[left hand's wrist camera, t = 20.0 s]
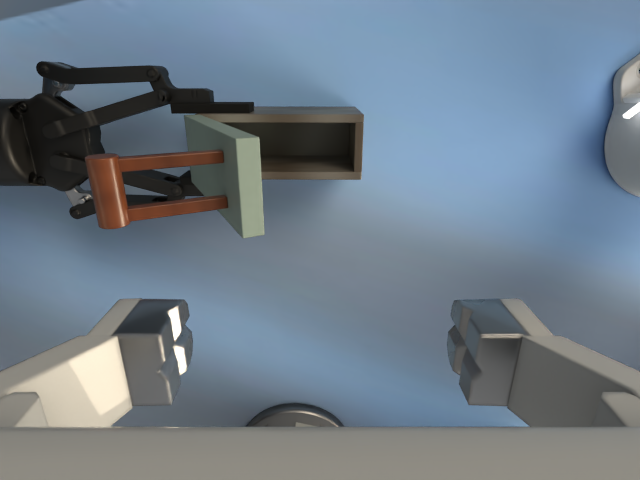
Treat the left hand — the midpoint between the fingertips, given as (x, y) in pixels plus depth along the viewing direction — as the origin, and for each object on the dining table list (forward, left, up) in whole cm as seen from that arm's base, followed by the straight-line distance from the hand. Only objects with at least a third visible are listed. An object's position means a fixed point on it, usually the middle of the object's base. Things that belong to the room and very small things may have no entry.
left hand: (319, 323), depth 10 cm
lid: (+4, -5, -20) cm, 21 cm away
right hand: (+4, -5, -29) cm, 29 cm away
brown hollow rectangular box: (+2, -3, -35) cm, 35 cm away
